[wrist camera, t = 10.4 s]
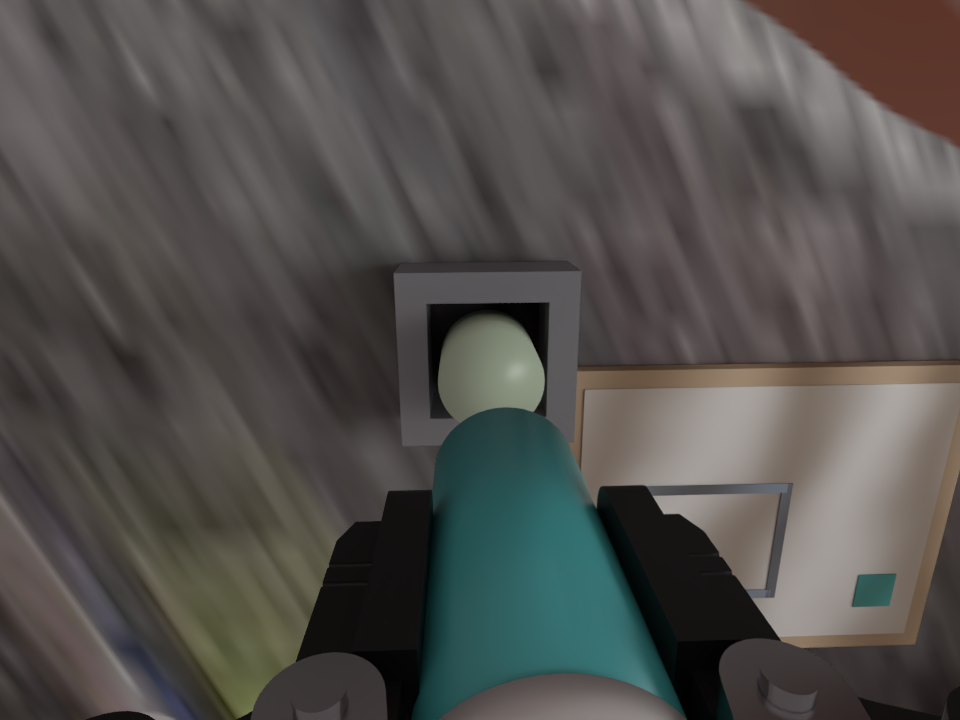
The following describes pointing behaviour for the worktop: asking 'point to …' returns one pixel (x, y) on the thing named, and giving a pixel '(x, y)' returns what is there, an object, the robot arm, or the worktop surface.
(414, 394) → the button housing
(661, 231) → the worktop surface
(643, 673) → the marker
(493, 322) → the button
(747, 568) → the framed whiteboard
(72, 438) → the worktop surface
